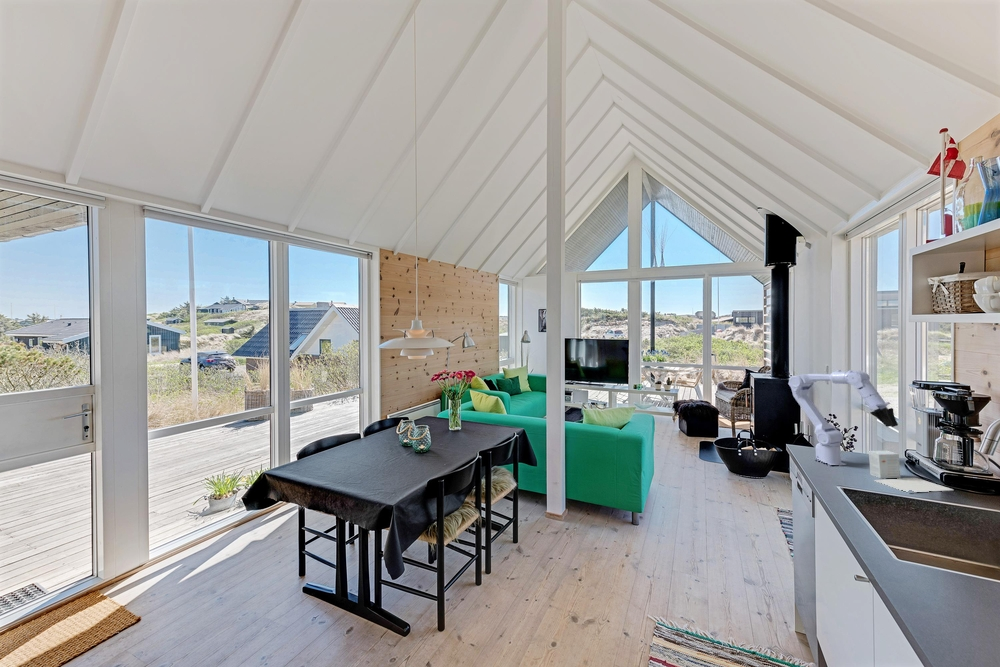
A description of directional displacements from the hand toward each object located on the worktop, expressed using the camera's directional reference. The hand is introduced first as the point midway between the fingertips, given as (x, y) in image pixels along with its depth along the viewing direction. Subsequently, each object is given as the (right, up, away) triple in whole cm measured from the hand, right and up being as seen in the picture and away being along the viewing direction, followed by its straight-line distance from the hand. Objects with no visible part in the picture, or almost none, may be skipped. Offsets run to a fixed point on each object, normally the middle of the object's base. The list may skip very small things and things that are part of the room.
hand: (892, 426), depth 170 cm
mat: (+1, -22, -8) cm, 23 cm away
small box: (0, -23, +3) cm, 23 cm away
